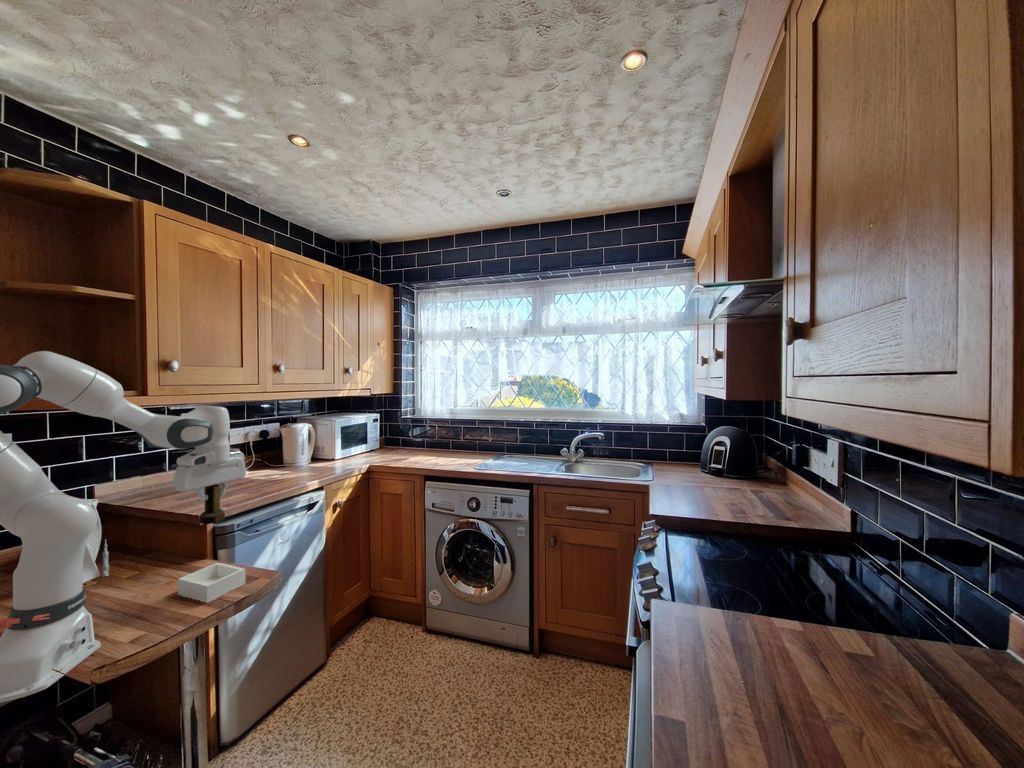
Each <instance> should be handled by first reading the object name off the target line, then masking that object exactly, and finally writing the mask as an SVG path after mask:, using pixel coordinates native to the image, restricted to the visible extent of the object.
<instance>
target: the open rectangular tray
mask: <svg viewBox="0 0 1024 768" xmlns="http://www.w3.org/2000/svg"><path fill="white" fill-rule="evenodd" d="M244 584H245V585H246V568H243V567H239V566H234V565H230V564H226V563H221V562H216V563H213V564H210V565H208V566H206V567H203V568H201V569H199V570H196V571H193V572H191V573H189V574H186V575H183V576H182V577H179V578H178V579H177V595H178V596H180V595H181V596H180V597H184V598H187V597H188V599H191V598H192V600H195V599H196V601H198V600H200V601H199V602H203V603H205V602H206V604H207V603H210V602H213V601H214V600H216V599H218V598H220V597H222V596H224V595H226V594H228V593H230V592H232V591H234V589H235V590H236V588H237V589H239V588H240V586H241V587H242V585H243V586H245V585H244ZM238 587H239V588H238ZM231 590H232V591H231ZM229 591H230V592H229ZM227 592H228V593H227ZM225 593H226V594H225ZM223 594H224V595H223ZM221 595H222V596H221Z"/></svg>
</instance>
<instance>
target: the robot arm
mask: <svg viewBox="0 0 1024 768" xmlns="http://www.w3.org/2000/svg"><path fill="white" fill-rule="evenodd" d="M124 394H125V393H124V388H123V386H122V384H121V383H120V382H119V381H117V380H115V379H114V378H113V377H111V376H110V375H108V374H106V373H105V372H103V371H100V370H99V369H97V368H94V367H92V366H90V365H88V364H85V363H83V362H81V361H79V360H76V359H74V358H71V357H69V356H66V355H62V354H58V353H56V352H53V351H48V350H41V351H35V352H32V353H29V354H27V355H25V356H24V357H22V358H20V359H19V360H18V362H16V363H15V364H12V365H7V364H0V415H2V414H6V413H9V412H12V411H14V410H17V409H19V408H20V407H22V406H24V405H25V404H26V403H28V402H30V401H31V400H33V399H35V398H37V399H41V400H45V401H47V402H50V403H52V404H55V405H57V406H58V407H62V408H65V409H67V410H70V411H73V412H76V413H79V414H82V415H87V416H91V417H97V418H103V419H107V420H109V421H111V422H114V423H116V424H119V425H121V426H123V427H125V428H127V429H130V430H132V431H134V432H135V433H137V434H138V436H140V437H141V438H142V439H143V441H145V443H146V444H147V445H149V446H151V447H154V448H168V449H175V450H187V449H191V448H194V450H193V451H191V452H188V453H186V454H183V455H182V456H179V457H177V459H176V464H177V465H178V466H177V467H176V469H175V470H174V477H173V487H174V488H173V489H174V490H175V491H177V492H180V493H181V492H182V493H184V492H190V491H193V490H195V492H196V494H197V495H198V496H199V498H198V499H199V502H202V503H203V502H205V501H207V500H208V495H205V487H207V486H211V485H215V484H219V485H220V498H222V497H225V495H226V490H227V488H228V487H229V482H232V481H236V480H240V479H244V478H245V477H246V475H247V469H246V463H245V454H244V453H243V452H241V451H239V450H238V451H230V449H231V445H230V441H229V436H230V432H231V429H230V428H231V427H230V426H231V425H230V423H231V422H230V414H229V410H228V409H227V408H226V407H225V406H222V405H218V404H217V405H216V404H210V403H209V404H207V403H205V404H199V405H198V406H197V407H196V408H194V409H192V410H191V411H188V412H187V413H183V414H182V415H179V416H177V415H171V414H163V413H162V414H161V413H153V412H150V411H149V410H147V409H144V408H142V407H140V406H139V405H136V404H134V403H133V402H130V401H129V400H127V399H126V398H125V397H124ZM82 499H83V498H79V497H75V496H71V495H68V494H66V493H65V492H63V491H62V490H60V489H59V488H58V487H57V486H56V485H55V484H54V483H53V482H52V481H51V480H50V479H49V478H48V476H47V475H46V474H45V472H44V471H43V469H42V467H41V466H40V464H38V462H36V461H35V460H34V459H32V458H31V457H30V456H29V455H28V454H27V453H26V452H25V451H24V450H23V449H22V448H21V447H20V446H18V444H16V442H15V441H13V440H12V439H11V438H10V437H8V436H7V435H6V433H4V432H3V431H1V430H0V526H2V527H3V528H4V529H5V530H7V532H9V533H11V535H14V536H16V537H18V538H20V539H21V544H22V546H21V553H20V557H19V561H18V563H17V567H16V568H15V569H14V571H13V574H12V606H11V607H10V609H9V611H8V614H7V617H5V618H4V617H3V618H0V629H4V628H5V630H4V632H3V633H2V634H1V636H0V703H6V702H9V701H14V700H17V699H22V698H25V697H27V696H28V697H29V696H31V695H34V694H36V693H39V692H41V691H44V690H46V689H47V688H49V687H50V686H52V685H53V684H54V683H56V682H57V681H59V680H60V679H61V678H62V677H64V676H65V675H66V674H68V673H69V672H70V671H71V670H72V669H74V668H75V667H76V666H78V665H79V664H80V663H82V662H83V661H85V660H86V658H88V657H89V656H91V655H92V654H93V653H94V652H96V651H97V650H98V649H99V648H101V647H102V645H101V641H100V640H97V639H95V633H94V623H93V616H92V613H90V612H89V610H87V608H86V607H85V606H84V605H85V604H86V598H87V593H86V588H85V587H84V585H83V557H84V552H85V548H86V545H87V541H88V537H89V534H90V533H91V532H92V530H93V529H94V527H95V526H96V523H97V514H96V512H95V510H94V509H93V508H92V507H91V506H90V505H89V504H88V503H87V502H86V501H84V500H82ZM52 669H54V670H57V671H60V672H61V673H64V674H65V675H64V674H61V673H59V672H56V671H54V670H52Z"/></svg>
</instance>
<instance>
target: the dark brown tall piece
mask: <svg viewBox="0 0 1024 768" xmlns="http://www.w3.org/2000/svg"><path fill="white" fill-rule="evenodd" d="M220 487H221V485H220V484H215V485H211V486H207V487H205V490H204V494H205V495H208V500H207V501H204V511H202V513H200V514H199V518H198V519H199V524H202V525H207V524H208V525H210V524H214V523H218V522H222V521H224V520H225V518H226V512H225V510H224V509H222V508H221V497H220Z"/></svg>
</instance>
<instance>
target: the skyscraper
mask: <svg viewBox="0 0 1024 768" xmlns="http://www.w3.org/2000/svg"><path fill="white" fill-rule="evenodd" d="M81 499H82V500H84V501H86V502H87V503H88V504H89V505H90V506H91V507H92V508H93V509H94V510H95V512H96V514H97V523H96V526H95V527H94V529H93V530H92V532H91V533H90V534H89V537H88V541H87V545H86V548H85V552H84V557H83V583H84V582H87V581H90V580H91V579H94V578H96V577H99V576H101V575H100V571H99V568H98V566H97V564H96V559H97V556H98V554H99V550H100V545H101V542H102V541H101V540H102V524H101V517H100V516H99V515H100V514H99V512H98V510H97V506H98V504H99V500H98V498H97V499H96V498H91V499H90V498H89V499H88V498H87V499H86V498H81ZM109 573H110V563H109V551H108V544H107V539H104V545H103V552H102V565H101V574H102V577H104V576H107V577H109V575H110V576H111V574H109Z"/></svg>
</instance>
